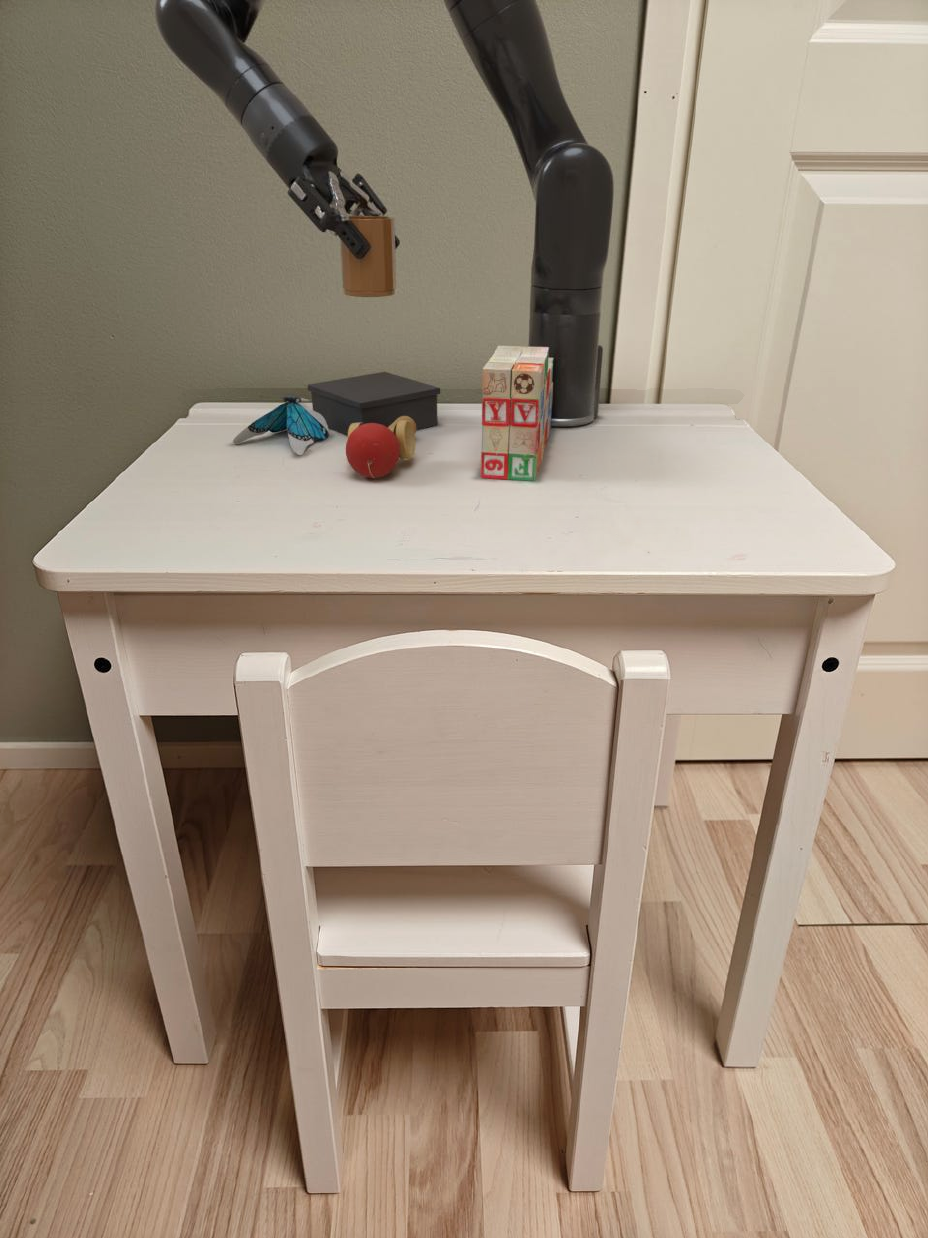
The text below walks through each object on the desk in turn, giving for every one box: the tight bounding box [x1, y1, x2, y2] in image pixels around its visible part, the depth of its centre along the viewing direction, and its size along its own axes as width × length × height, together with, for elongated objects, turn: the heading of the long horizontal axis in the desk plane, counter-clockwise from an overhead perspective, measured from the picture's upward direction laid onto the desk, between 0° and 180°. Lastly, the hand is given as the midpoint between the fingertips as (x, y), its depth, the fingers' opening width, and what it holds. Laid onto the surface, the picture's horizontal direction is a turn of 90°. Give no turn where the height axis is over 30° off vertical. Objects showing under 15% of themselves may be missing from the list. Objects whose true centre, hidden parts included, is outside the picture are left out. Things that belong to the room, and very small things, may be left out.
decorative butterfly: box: [232, 395, 330, 456], centre depth 108 cm, size 10×6×10 cm
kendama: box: [345, 416, 417, 480], centre depth 101 cm, size 8×6×18 cm
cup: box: [339, 215, 397, 298], centre depth 104 cm, size 6×6×8 cm
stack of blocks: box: [480, 345, 553, 482], centre depth 102 cm, size 21×6×12 cm, turn 170°
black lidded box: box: [307, 371, 441, 436], centre depth 115 cm, size 13×13×5 cm
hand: (380, 250), depth 103 cm, fingers closed on cup, 6 cm apart
